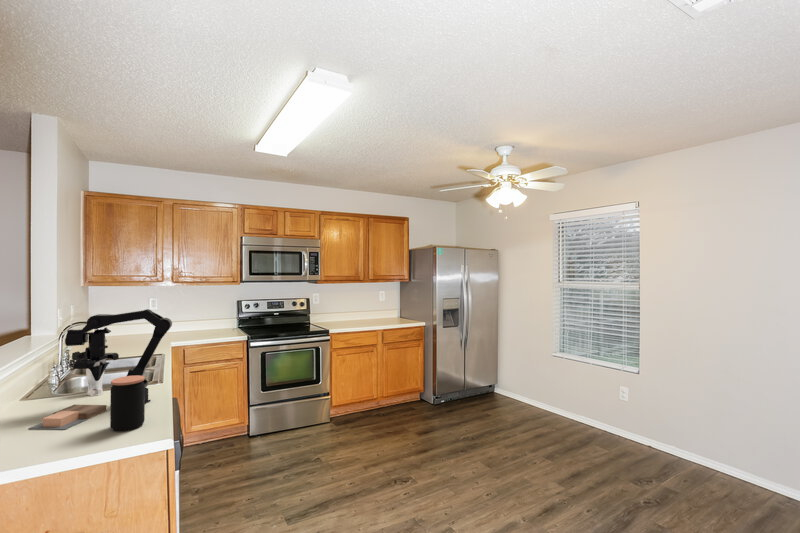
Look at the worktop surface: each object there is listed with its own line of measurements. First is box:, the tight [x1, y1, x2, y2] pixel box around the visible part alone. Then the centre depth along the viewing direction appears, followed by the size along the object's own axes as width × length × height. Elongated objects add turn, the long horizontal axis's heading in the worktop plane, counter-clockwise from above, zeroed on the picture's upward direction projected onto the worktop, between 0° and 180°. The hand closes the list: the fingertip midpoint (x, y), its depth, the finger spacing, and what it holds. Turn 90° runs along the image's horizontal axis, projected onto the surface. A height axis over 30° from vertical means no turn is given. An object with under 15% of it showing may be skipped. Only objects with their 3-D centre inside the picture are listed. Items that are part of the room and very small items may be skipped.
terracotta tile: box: [42, 411, 79, 427], centre depth 155 cm, size 7×8×3 cm
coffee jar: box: [109, 375, 146, 433], centre depth 152 cm, size 11×11×18 cm
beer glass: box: [85, 369, 105, 397], centre depth 192 cm, size 7×7×15 cm
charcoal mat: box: [28, 419, 88, 431], centre depth 154 cm, size 14×10×1 cm
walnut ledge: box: [52, 404, 107, 421], centre depth 164 cm, size 14×10×2 cm
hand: (97, 380), depth 173 cm, fingers closed
